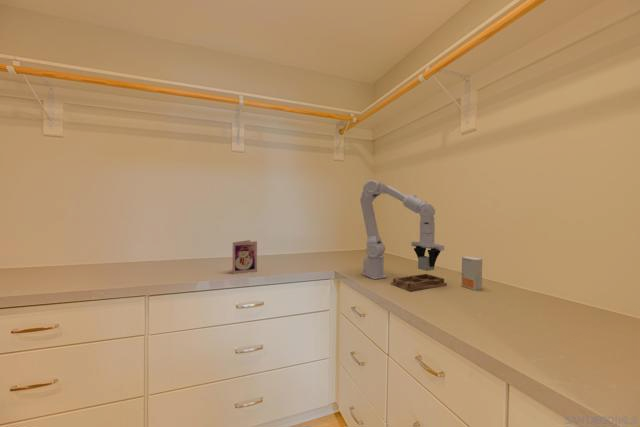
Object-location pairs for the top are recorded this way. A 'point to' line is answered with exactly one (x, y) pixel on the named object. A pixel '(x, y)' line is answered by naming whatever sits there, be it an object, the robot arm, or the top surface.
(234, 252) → the greeting card
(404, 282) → the slot rack
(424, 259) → the slate block
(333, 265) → the top surface
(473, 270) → the skincare box
